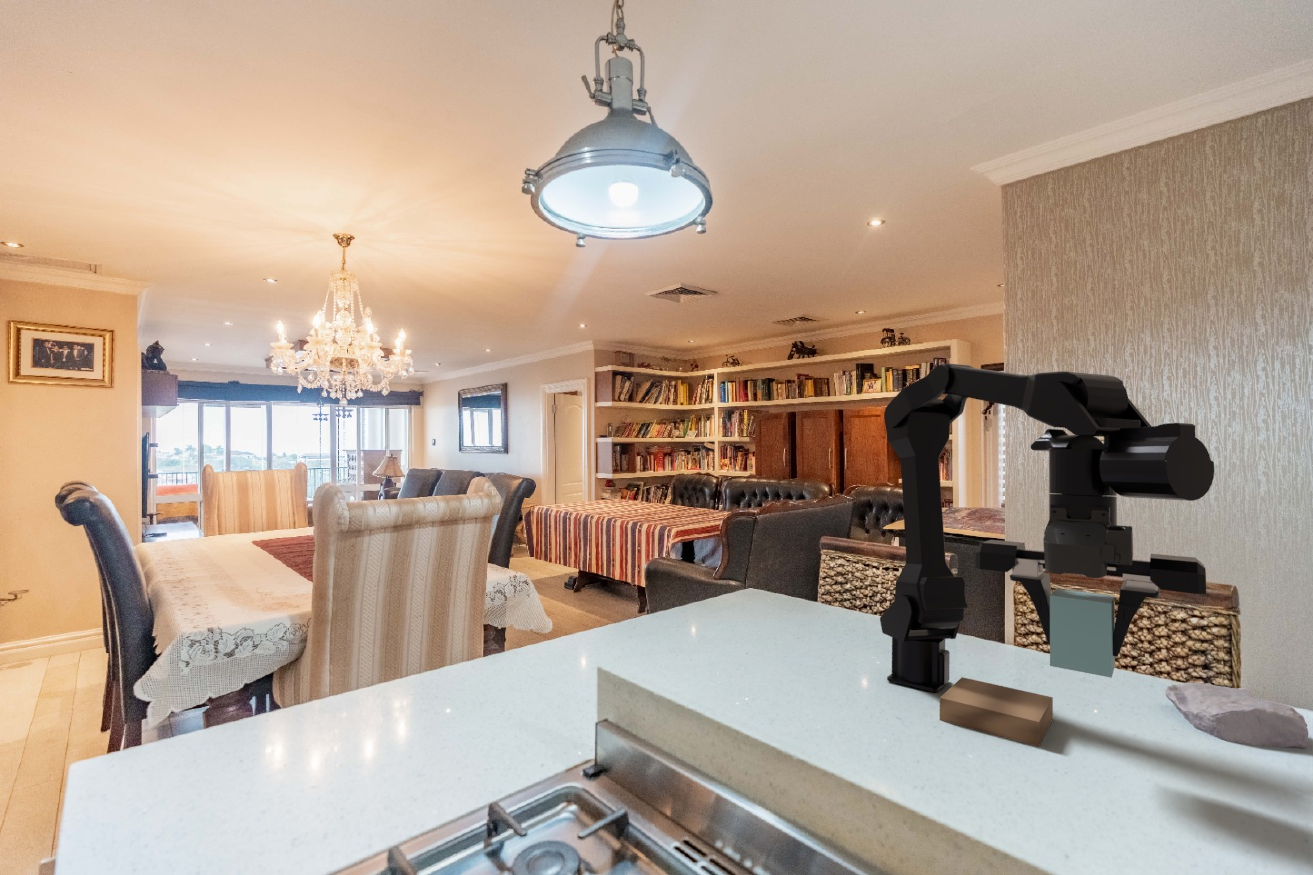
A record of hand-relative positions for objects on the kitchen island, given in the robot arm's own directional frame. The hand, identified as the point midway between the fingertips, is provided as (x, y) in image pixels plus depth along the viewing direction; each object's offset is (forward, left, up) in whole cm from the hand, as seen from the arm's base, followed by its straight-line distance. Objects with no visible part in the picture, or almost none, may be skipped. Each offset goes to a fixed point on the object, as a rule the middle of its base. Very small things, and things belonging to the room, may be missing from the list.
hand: (1082, 650), depth 63 cm
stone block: (+12, +25, -12) cm, 30 cm away
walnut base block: (-9, +7, -12) cm, 16 cm away
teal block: (0, 0, -2) cm, 2 cm away
